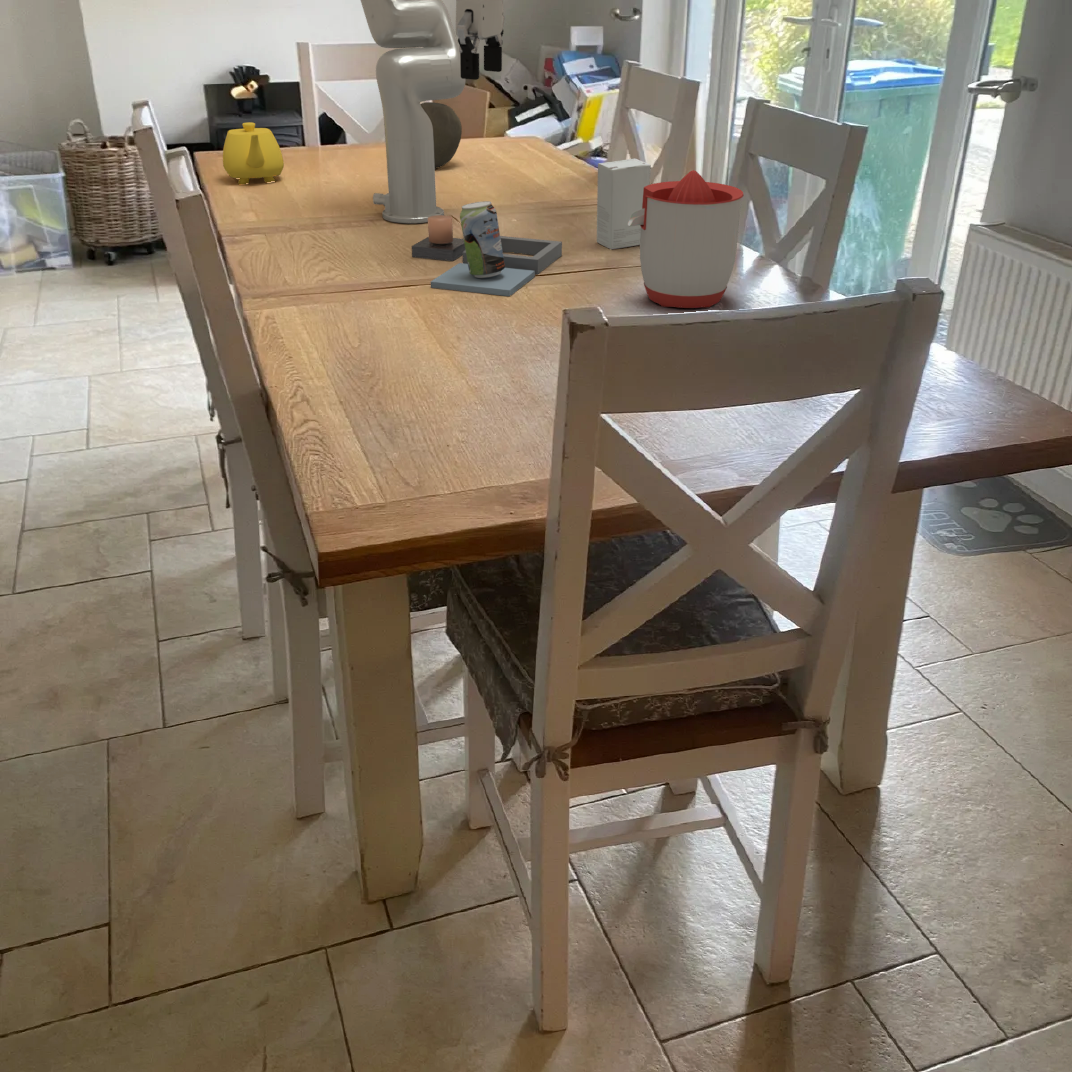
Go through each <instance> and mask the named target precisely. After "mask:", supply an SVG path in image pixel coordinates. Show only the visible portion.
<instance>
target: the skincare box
mask: <svg viewBox="0 0 1072 1072" xmlns="http://www.w3.org/2000/svg"><path fill="white" fill-rule="evenodd" d="M651 168H652V165H651V164H650V163H648V162H645V161H642V160H640V159H637V158H635V157H634V158H628V159H622V160H615V161H608V162H600V163H597V198H596V200H597V201H596V202H597V204H596V206H597V207H596V243H598V244H599V245H602V246H603V247H606V248H608V249H609V250H612V251H613V250H615V249H616V250H617V249H622V248H623V249H624V248H627V247H633V246H634V247H635V246H640V235H641V226H640V225H637V226H630V227H629V226H628V222H629V220H630V217H631V215H632V213H634V212H635V211H638V210H641V209H642V203H643V190H644V187H645V186H647V185H650V184H651V183H650V182H651Z"/></svg>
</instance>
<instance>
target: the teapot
mask: <svg viewBox="0 0 1072 1072" xmlns="http://www.w3.org/2000/svg"><path fill="white" fill-rule="evenodd" d="M242 127H243V128H236V129H234V128H233V129H229V130H227V134H226V136H225V140H224V143H223V144H224V145H223V149H222V164H223V169H224V171H225V172H226V173H227V175H228V176H230V178H233V179H235V178H240V179H239V180H238V182H237V185H239V184H246V183H249V184H250V179H260V178H262V177H263V181H264V183H265V182H271V181H276V179H275V178H274V177H277V176H281V174H282V172H283V169H284V166H285V163H284V157H283V153H282V151H281V148H280V145H279V143H278V142H277V139H276V137H275V136H274V134H273V132H272V131H271V129H270V128H266V127H256V123H254V122H252V121H251V122H243V123H242Z"/></svg>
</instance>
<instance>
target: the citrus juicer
mask: <svg viewBox="0 0 1072 1072" xmlns="http://www.w3.org/2000/svg"><path fill="white" fill-rule="evenodd" d="M743 197H744V191H742V190H741V189H740V188H738V187H735V186H733V185H728V184H725V183H718V182H709V181H706V180H705V179H704V178H703V176H702V175H701V174H700V173H698V171H696V170H694V169H693V170H690V171H689V172H688V173H686V174H685V176H683V178H681V179H680V180H676V181H675V180H673V181H662V182H656V183H655V182H654V183H650V185H647V186H645V187H644V190H643V203H642V209H641V210H638V211H635V212H634V213H632V215H631V217H630V220H629V222H628V226H629V227H630V226H637V225H640V226H641V235H640V245H639V260H640V261H639V262H640V269H641V276H642V279H643V286H644V288H645V289H644V290H645V291H646V295H647V297H648V298H649V300H651V301H652V302H654V303H657V304H659V306H660V305H661V307H663V308H671V307H673V308H681V309H683V308H684V309H694V308H695V309H698V308H711V307H713V305H717V304H718V303H719V302H720V301H721V300H722V297H723V296H724V294H725V292H726V290H727V288H728V284H729V281H730V279H731V276H732V274H733V269H734V265H735V262H736V256H737V248H738V239H739V237H738V236H739V228H740V227H739V226H740V220H741V219H740V218H741V207H742V198H743Z"/></svg>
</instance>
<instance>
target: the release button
mask: <svg viewBox="0 0 1072 1072" xmlns="http://www.w3.org/2000/svg"><path fill="white" fill-rule="evenodd" d="M453 227H454V226H453V217H452V216H451V215H445V214H444V215H437V216H431V217H428V222H427V228H428V229H427V231H428V237H429V242H431V243H436V244H444V243H450V242H452V241H453V238H454V229H453Z"/></svg>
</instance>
